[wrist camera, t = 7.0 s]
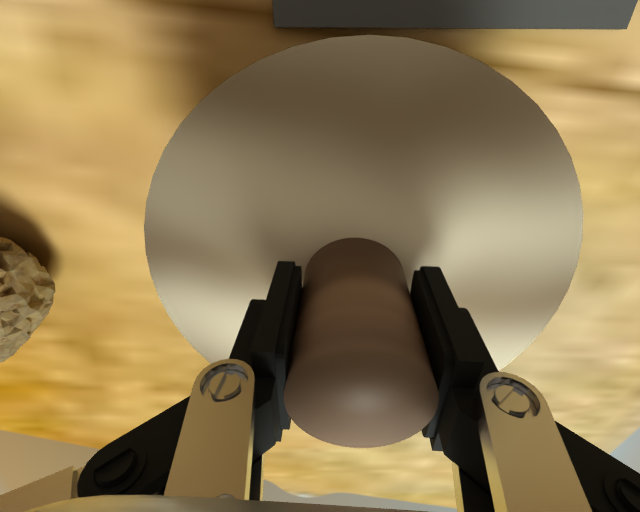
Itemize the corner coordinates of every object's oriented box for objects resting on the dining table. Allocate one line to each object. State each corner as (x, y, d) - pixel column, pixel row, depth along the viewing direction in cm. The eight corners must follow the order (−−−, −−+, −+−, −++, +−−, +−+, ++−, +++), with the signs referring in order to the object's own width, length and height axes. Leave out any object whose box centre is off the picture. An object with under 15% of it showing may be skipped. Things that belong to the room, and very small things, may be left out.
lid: (103, 36, 10) (-165, 12, 5) (650, 37, 9) (1060, 11, 4) (196, 388, 17) (134, 529, 12) (499, 403, 17) (570, 560, 11)
